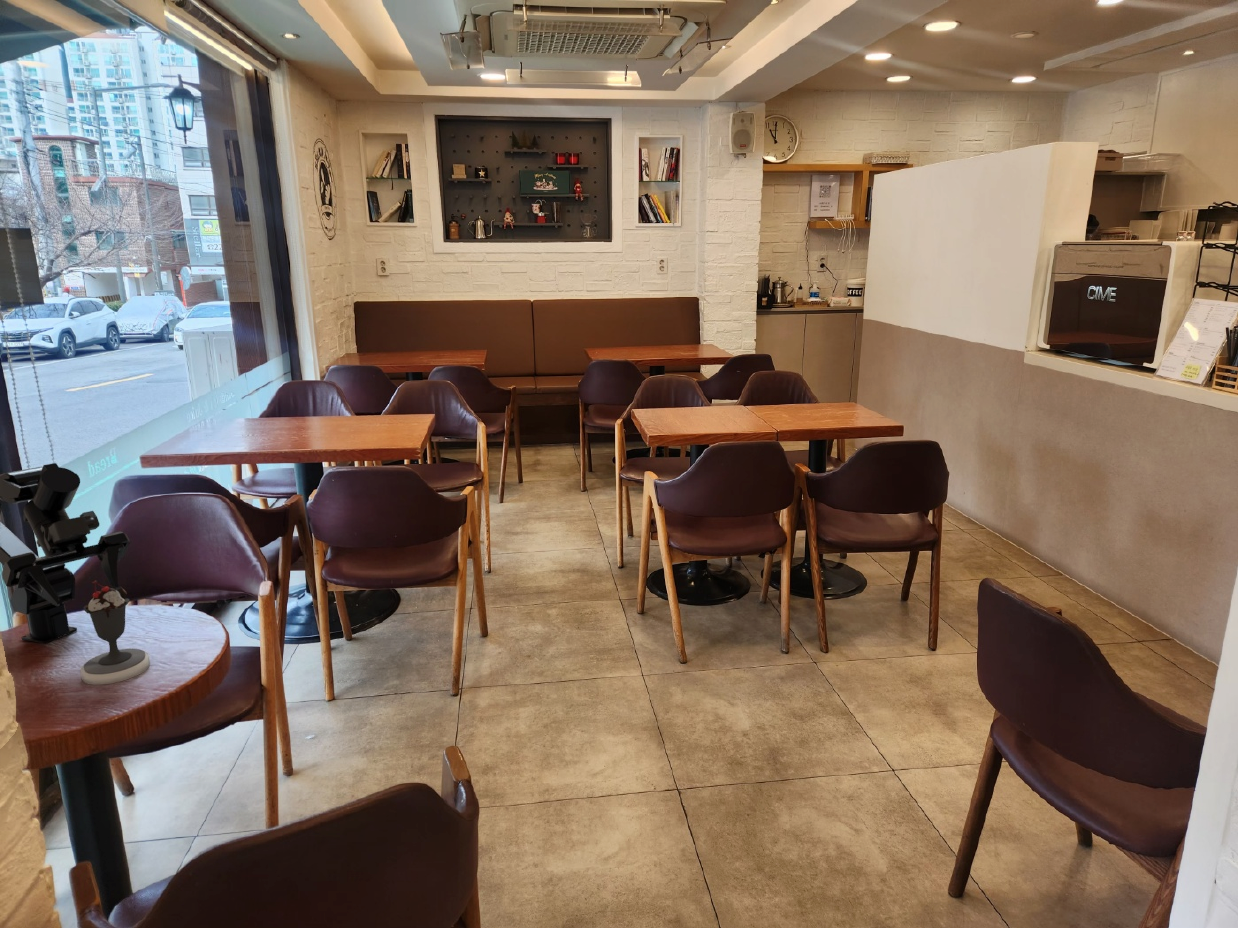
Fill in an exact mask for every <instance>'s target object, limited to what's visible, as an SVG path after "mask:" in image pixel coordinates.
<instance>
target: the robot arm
mask: <svg viewBox="0 0 1238 928" xmlns="http://www.w3.org/2000/svg"><path fill="white" fill-rule="evenodd" d="M80 485H81V479H80V477H79V475H78V473H75V472H74V471H72V470H71V469H69V468H65V467H60V466H59V465H58V463H56V462H53V463H46V464H43V466H37V467H32V468H26V469H20V470H15V471H9V472H4V473H2V474H0V564H1V565H3V568H2V572H1V578H2V581H3V582H4V584H5V586H6V587H9V588H10V587H14V586H15V589H14V591H13V593H12V594H11V597H10V600H9V601H10V604H11V607H12V610H13V611H14V612H17V613H19V614H23V615H25V616H26V621H27V626H28V627H27V628H28V631H29V633H27V634H25V635H22V636H21V640H22V641H28V642H32V643H33V642H34V643H38V644H39V643H40V644H48V643H49V642H52V641H54V640H57V639H59V638H62V637H64V636H67V635H69V634H72V633H74V632H77V631H78V627H76V626H70V625H69V619H68V614H67V610H66V605H65V603H66V602H68V601H74V600H75V597H76V596H75V595H76V577H75V575H74V574H73V572H72V571H71V570H70V569H68V567H66V564H68V563H71V562H76V561H80V560H84V559H88V558H92V557H95V556H96V557H97V558H98V560H99V561H101V563H100V567H101V569H102V570H103V573H104V575H105V577H106V578H107V580H108V582H109V584H110V586H111V587H112V589H115V590H118V588H119V576H118V574H119V573H118V563H119V562H120V560H121V559H122V558H123V557H125V556H126V553H127V551H128V548H129V547H130V544H131V540H130V538H129V536H128V534H127V533H125V532H123V531H117V532H113V533H112V532H111V533H107V534H104V535H101V536H100V538H99V540H98V542H97V544H93V545H90V546H85V545H84V544H87V542H88V537H87V535H90V534H91V531H94V530H96V529H98V528H99V527H100V521H99V518H98V516H97V515H96V513H95V511H94V510H90V511H85V512H82V513H81V514H79V516H77V517H72V518H70V517H69V515H68V513H67V511H66V509H68V508H69V507H70V506H71V504H72V502H73V500H74V498H75V495H76V494H77V491H78V489H79V487H80ZM4 502H7V503H9V504H13V505H15V504H19V503H23V502H27V503H26V504H25V505H24V508H23V518H22V519H23V522H25V523H26V522H28V524H29V526H30V528H31V530H32V532H33V533H34V536H35V537H36V542H35V543H36V545H37V547H38V548H41V550H42V552H43V553H44V556H40V557H39V556H38V555H37V554H36V553H35V552H34V551H33V550H32V549H30V548H29V547H28V546H27V544H26V543H24V542H23V541H22V540H21V539H20V538H19V537H18V536H17V535H16V534H15V533H13V532H12V531H11V530H10V529H9V528H8V527H7V526H6V525H5V524H4V523H2V511H3V508H4Z"/></svg>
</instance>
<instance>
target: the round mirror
mask: <svg viewBox="0 0 1238 928" xmlns="http://www.w3.org/2000/svg"><path fill="white" fill-rule="evenodd" d="M118 650H119V651H120V652H129V653H131V654H132V656H131V658H129V659H128V660H126V661H124V662H122V663H118V664H114V665H101V664H99V663H98V661H99V659H100V658H102V657H104V656H106V655H108V654H109V651H107V652H104V653H101V654H98V655H96V656H94V657H92V658H89V660H87V661H86V662H85V663H84V664H83V665H82V666H81V668H80V675H81V680H82V682H83V683H85V684H88V685H94V686H95V685H96V686H98V685H101V686H102V685H109V684H114V683H119V682H123V681H125V680H130V679H132V678H134V677H137V676H138V675H140V674H142V673H144V672H145V671H147V670H148V669H149V667H150V666H151V661H150V654H149V652H147V651H146V650H143V649H140V648H122V649H118Z"/></svg>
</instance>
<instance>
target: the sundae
mask: <svg viewBox="0 0 1238 928" xmlns="http://www.w3.org/2000/svg"><path fill="white" fill-rule="evenodd" d="M91 584H94V588H95V589H94V592H93V593H92V597H93V598H92V599H91V600H90V601H89V602H88V604H86V605H84V606H83V611H84V612H85V613H87V614H89V616H90V619H91V622H92V625H93V627H94V630H95V631H94V632H95V633H96V634H97V637H98V638H100V639H101V640H102V641H106V642H107V643H108V647H109V651H108V652H109V654H108V655H106V656H104V657H102V658H100V659H99V661H98V663H99V664H101V665H114V664H118V663H122V662H124V661H126V660H128V659H129V658H131V656H132V654H131V653H129V652H120V651H119V650H120V649H119V647H118V643H117V641H118V639H119V638H120V637H121V636H123V634H124V633H125V631H126V630H125V628H126V606H127V605H128V604H129V603H130V598H127V594H128V593H127V591H126V590H125V589H124V588H123V587H122V586H118V589H116V590H115V589H114V588H113V587H112V588H111V587H109V586H103V585H101V584H99V582H97V580H94V581H92V582H91ZM97 585H98V586H99V587H101V589H100V590H98V591H97Z"/></svg>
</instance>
